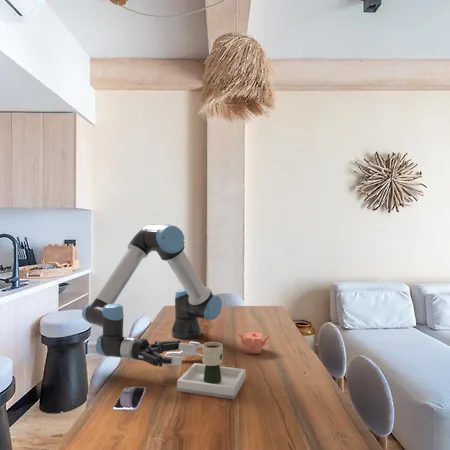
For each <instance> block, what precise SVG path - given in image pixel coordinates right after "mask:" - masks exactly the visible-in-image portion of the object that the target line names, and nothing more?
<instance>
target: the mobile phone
mask: <svg viewBox="0 0 450 450" xmlns="http://www.w3.org/2000/svg"><path fill="white" fill-rule="evenodd" d="M145 390H147V388H146V387H145V386H126V387H124V388H123V389H122V392H121V393H120V395H119V397H118V399H117V400H116V402H115V404H114V406H113V407H112V410H113V411H136V410H138V409H139V407H140V404H141V402H142V400H141V399H143V398H144V395H145V393H146V391H145Z"/></svg>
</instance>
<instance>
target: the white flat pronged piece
mask: <svg viewBox="0 0 450 450" xmlns="http://www.w3.org/2000/svg"><path fill="white" fill-rule="evenodd" d="M188 344H195V352H187V351H166V353H165V354H164V355H166V356H175V357H190V356H192V357H195V356H197V357H201V358H203V353H202V354H201V353H199V352H197V349H199V348H200V349H201V348H202V349H203V344H201V343H200V342H198V341H193V340H192V341H190V342H189V343H188Z"/></svg>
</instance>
